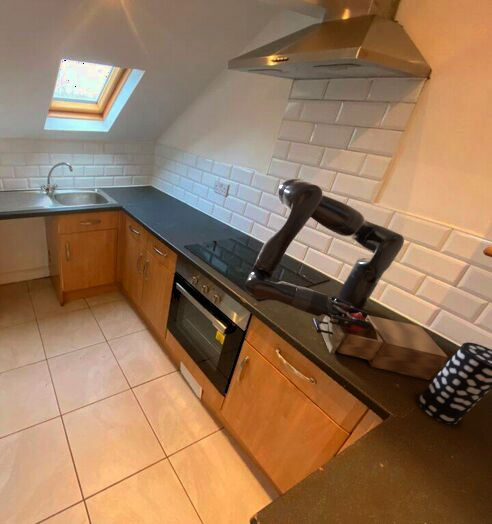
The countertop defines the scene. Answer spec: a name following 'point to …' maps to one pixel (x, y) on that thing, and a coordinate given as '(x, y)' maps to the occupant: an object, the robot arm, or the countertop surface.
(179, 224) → the countertop surface
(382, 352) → the cabinet
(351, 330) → the onion
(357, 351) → the drawer
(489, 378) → the white-spotted black cylinder
